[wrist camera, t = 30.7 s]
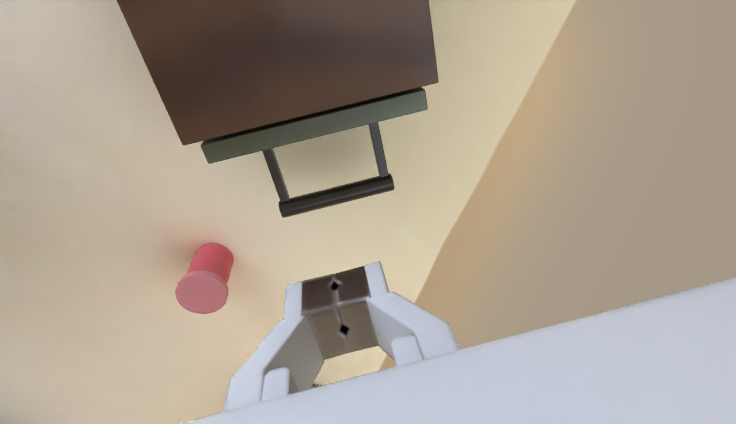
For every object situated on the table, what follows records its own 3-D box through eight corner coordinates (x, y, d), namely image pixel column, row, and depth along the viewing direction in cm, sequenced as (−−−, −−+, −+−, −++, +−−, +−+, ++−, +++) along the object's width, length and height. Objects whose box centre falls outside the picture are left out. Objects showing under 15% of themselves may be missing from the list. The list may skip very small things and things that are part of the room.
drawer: (415, 157, 33) (439, 192, 27) (253, 197, 32) (242, 242, 26) (362, -166, 23) (381, -224, 17) (132, -112, 23) (71, -152, 17)
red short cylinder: (188, 240, 34) (171, 275, 30) (234, 239, 35) (224, 273, 31) (194, 277, 36) (179, 315, 32) (238, 275, 37) (229, 312, 32)
